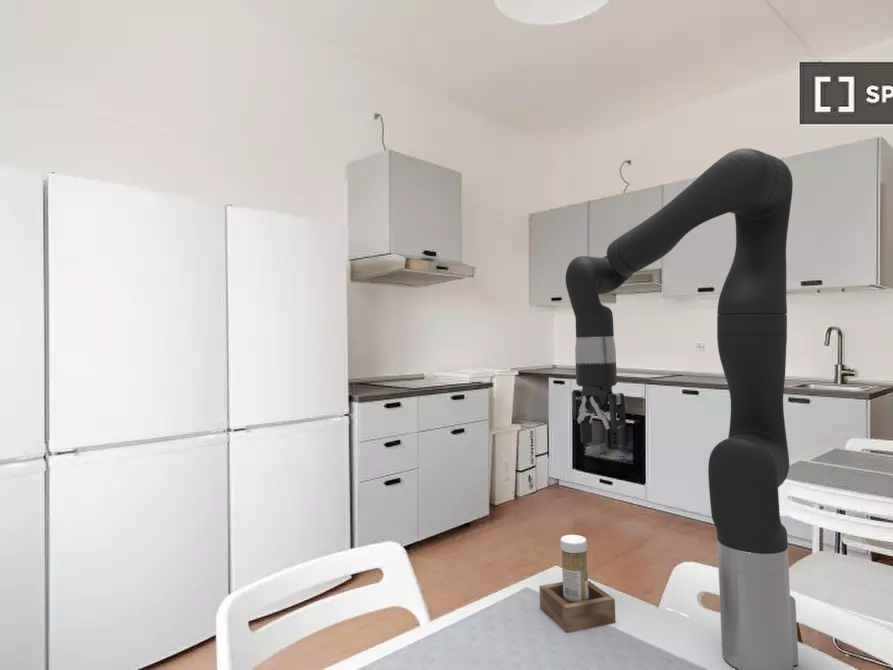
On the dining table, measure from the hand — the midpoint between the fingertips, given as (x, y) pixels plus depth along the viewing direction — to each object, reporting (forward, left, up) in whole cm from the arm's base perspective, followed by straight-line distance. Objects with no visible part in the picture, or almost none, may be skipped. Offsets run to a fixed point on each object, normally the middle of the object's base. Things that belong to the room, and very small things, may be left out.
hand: (598, 446), depth 106 cm
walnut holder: (+9, +5, -28) cm, 30 cm away
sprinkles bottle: (+9, +5, -28) cm, 30 cm away
